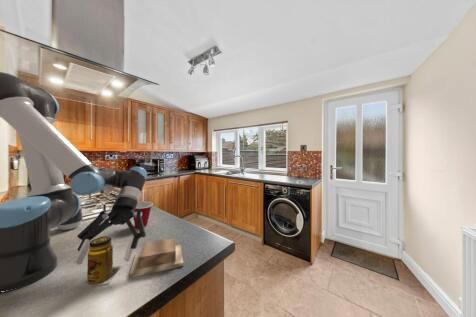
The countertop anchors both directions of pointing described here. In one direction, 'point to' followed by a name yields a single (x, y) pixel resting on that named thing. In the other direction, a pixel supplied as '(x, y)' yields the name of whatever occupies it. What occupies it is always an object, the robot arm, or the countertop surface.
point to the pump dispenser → (72, 222)
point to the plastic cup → (143, 212)
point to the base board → (156, 268)
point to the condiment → (100, 262)
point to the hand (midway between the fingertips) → (102, 261)
